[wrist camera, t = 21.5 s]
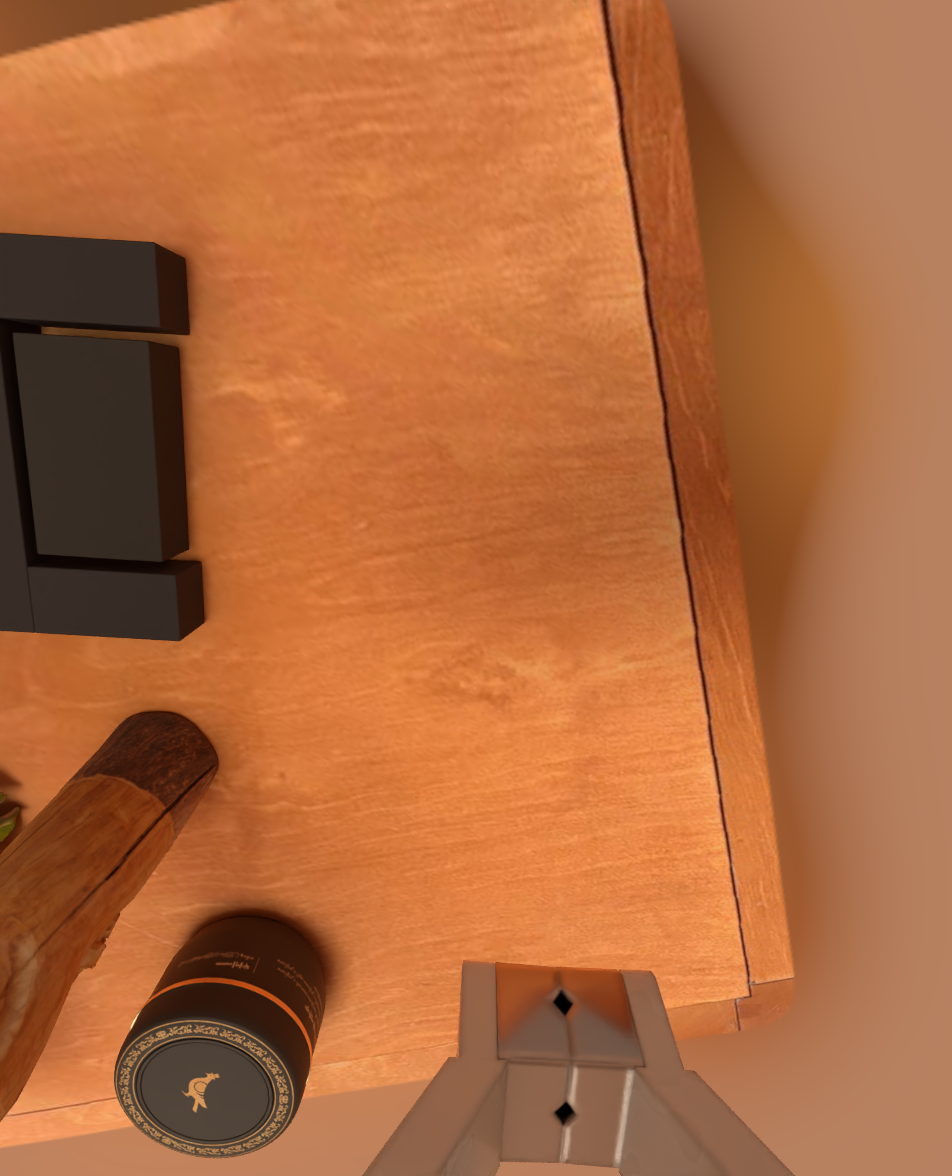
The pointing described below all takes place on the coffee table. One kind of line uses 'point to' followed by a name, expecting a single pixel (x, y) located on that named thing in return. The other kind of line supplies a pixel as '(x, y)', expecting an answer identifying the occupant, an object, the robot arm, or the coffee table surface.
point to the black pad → (103, 446)
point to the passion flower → (7, 820)
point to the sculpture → (87, 873)
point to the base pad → (3, 497)
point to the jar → (225, 1040)
